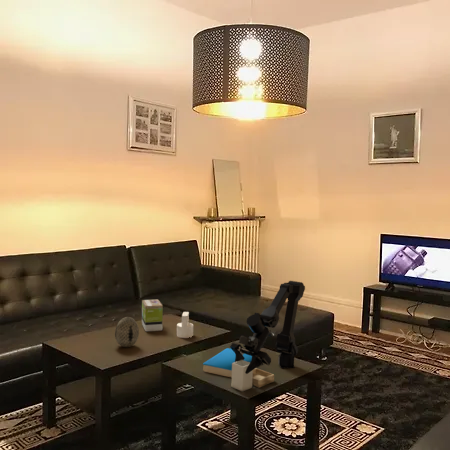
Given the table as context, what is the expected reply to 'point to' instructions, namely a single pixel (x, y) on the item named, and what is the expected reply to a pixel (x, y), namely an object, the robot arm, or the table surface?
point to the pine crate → (261, 378)
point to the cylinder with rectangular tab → (185, 327)
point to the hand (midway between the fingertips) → (240, 371)
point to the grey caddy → (241, 376)
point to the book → (223, 362)
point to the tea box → (152, 315)
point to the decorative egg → (127, 332)
